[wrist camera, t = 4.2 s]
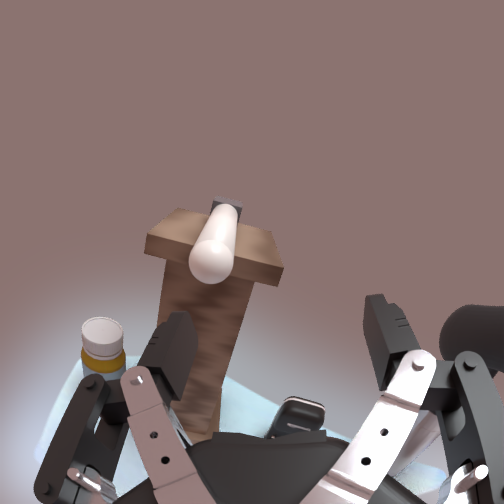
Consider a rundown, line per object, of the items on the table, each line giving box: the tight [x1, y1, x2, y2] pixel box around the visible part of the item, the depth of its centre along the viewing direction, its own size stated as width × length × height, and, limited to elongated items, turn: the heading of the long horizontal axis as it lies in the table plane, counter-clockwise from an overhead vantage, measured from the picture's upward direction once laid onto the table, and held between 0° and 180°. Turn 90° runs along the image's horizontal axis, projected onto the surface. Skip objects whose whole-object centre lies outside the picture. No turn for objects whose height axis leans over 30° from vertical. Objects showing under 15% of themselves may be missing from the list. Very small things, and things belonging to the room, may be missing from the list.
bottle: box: [81, 317, 126, 381], centre depth 36 cm, size 7×7×15 cm
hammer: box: [189, 196, 242, 284], centre depth 27 cm, size 20×3×3 cm, turn 1°
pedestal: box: [144, 208, 284, 444], centre depth 37 cm, size 13×13×32 cm
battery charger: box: [264, 396, 325, 439], centre depth 38 cm, size 7×4×11 cm, turn 75°
